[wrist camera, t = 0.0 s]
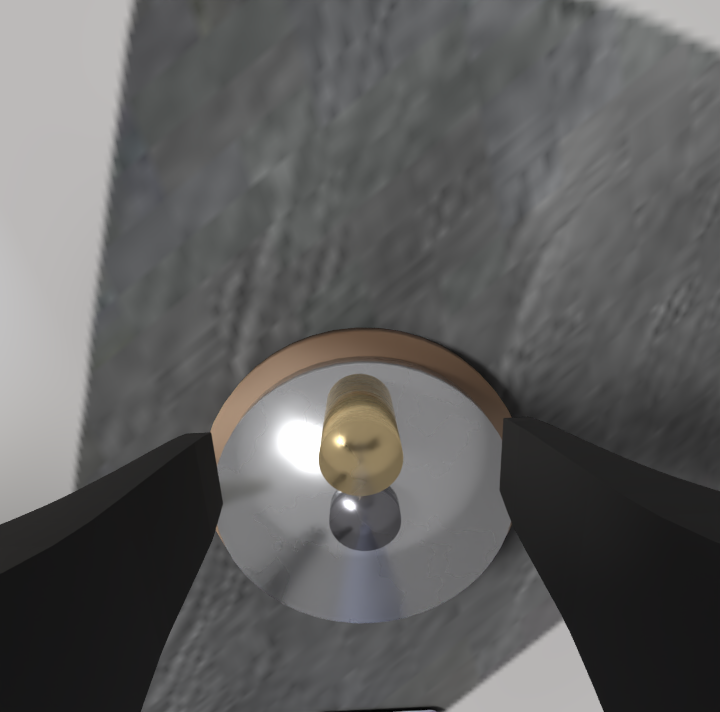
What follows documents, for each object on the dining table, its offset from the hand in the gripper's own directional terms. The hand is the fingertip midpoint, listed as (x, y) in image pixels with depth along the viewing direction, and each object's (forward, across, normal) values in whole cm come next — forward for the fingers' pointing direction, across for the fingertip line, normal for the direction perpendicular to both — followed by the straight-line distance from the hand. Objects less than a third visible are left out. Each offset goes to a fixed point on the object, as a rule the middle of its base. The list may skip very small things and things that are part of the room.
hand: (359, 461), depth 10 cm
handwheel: (+9, 0, +7) cm, 11 cm away
